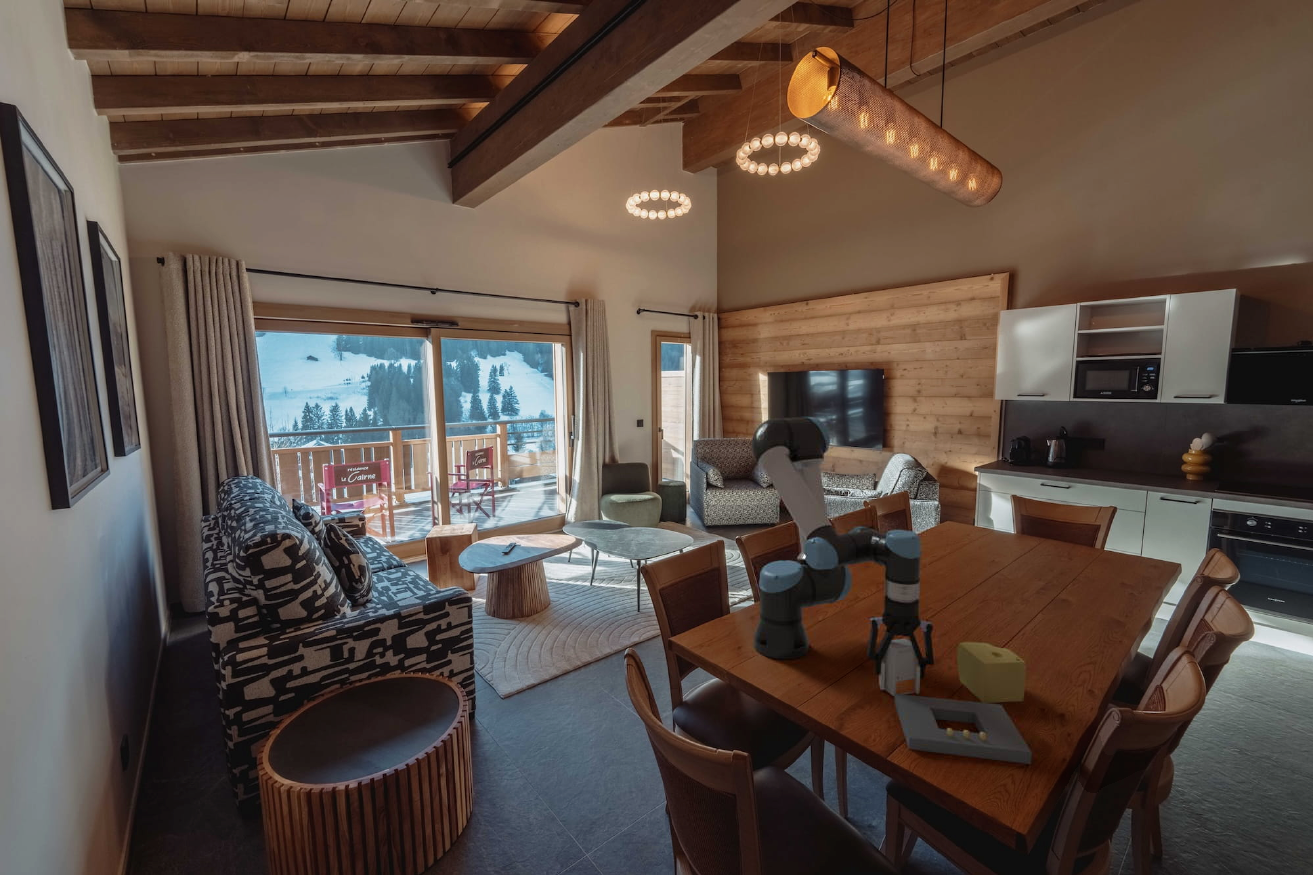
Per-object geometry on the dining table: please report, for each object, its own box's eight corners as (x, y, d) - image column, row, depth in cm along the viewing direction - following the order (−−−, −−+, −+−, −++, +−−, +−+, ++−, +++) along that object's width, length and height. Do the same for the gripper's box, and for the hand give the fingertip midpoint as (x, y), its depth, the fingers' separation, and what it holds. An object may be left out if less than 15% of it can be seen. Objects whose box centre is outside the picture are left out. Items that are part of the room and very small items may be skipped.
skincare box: (894, 697, 132) (895, 649, 130) (882, 688, 136) (883, 641, 134) (916, 693, 133) (917, 645, 132) (903, 683, 137) (905, 637, 136)
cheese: (996, 678, 139) (998, 640, 138) (1026, 703, 128) (1029, 662, 127) (955, 679, 139) (957, 641, 138) (982, 705, 128) (984, 664, 127)
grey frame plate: (909, 749, 114) (909, 730, 113) (894, 703, 129) (895, 687, 129) (1030, 764, 109) (1032, 744, 108) (1000, 715, 124) (1001, 698, 124)
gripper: (858, 599, 131) (856, 692, 133) (952, 606, 126) (948, 702, 129) (855, 587, 138) (853, 675, 140) (943, 593, 133) (940, 684, 136)
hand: (898, 688), depth 134 cm, fingers closed on skincare box, 7 cm apart
